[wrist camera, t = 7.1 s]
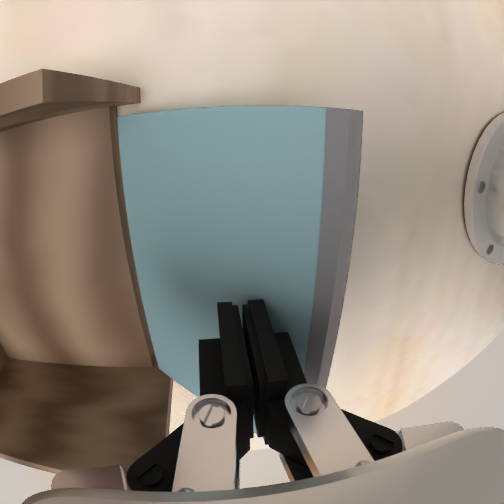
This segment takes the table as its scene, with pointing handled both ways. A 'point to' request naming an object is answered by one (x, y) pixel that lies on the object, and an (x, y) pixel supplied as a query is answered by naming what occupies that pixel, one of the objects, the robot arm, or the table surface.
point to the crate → (71, 283)
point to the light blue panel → (241, 223)
